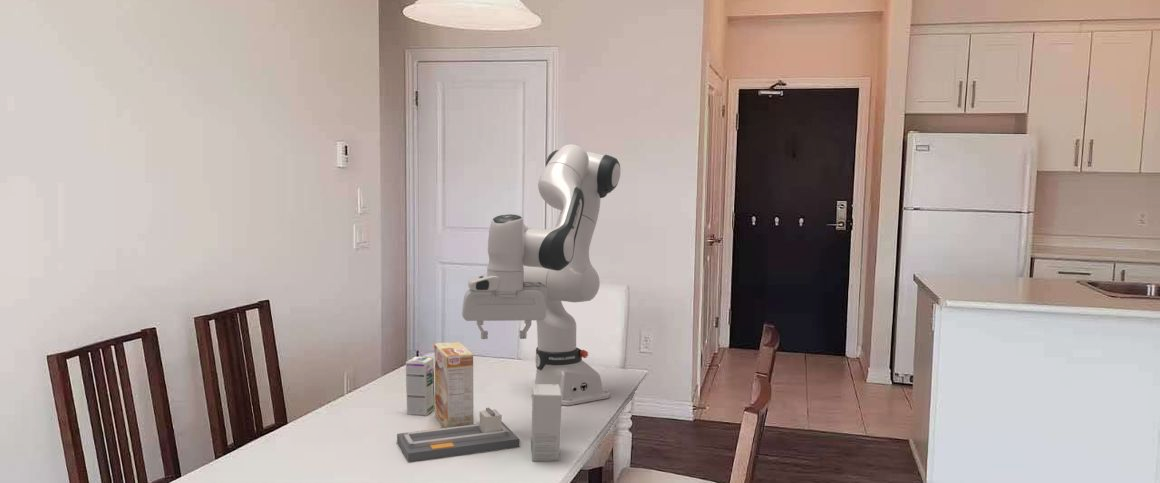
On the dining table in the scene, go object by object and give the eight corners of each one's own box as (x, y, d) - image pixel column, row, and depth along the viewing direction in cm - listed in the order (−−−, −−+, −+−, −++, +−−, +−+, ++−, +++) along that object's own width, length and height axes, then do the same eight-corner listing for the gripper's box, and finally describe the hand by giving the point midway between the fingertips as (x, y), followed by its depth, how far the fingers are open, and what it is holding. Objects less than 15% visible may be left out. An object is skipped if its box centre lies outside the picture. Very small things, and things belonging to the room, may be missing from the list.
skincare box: (531, 448, 185) (531, 383, 184) (559, 448, 186) (559, 383, 184) (531, 462, 177) (532, 393, 175) (561, 461, 177) (562, 393, 176)
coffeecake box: (434, 415, 209) (433, 343, 207) (460, 413, 211) (460, 341, 210) (446, 433, 195) (445, 355, 193) (474, 430, 198) (474, 353, 196)
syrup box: (426, 416, 209) (426, 362, 207) (405, 414, 210) (405, 360, 208) (435, 409, 214) (434, 357, 213) (414, 408, 215) (414, 355, 214)
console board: (501, 428, 199) (501, 417, 199) (519, 447, 186) (519, 434, 186) (397, 441, 189) (396, 429, 188) (408, 462, 176) (408, 449, 176)
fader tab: (495, 427, 193) (495, 406, 193) (501, 433, 189) (501, 412, 188) (479, 429, 192) (479, 408, 191) (485, 435, 187) (485, 414, 187)
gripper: (545, 280, 197) (543, 335, 198) (462, 280, 192) (460, 336, 193) (550, 283, 191) (548, 340, 192) (464, 283, 186) (463, 341, 187)
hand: (503, 338), depth 192 cm, fingers open, 8 cm apart
